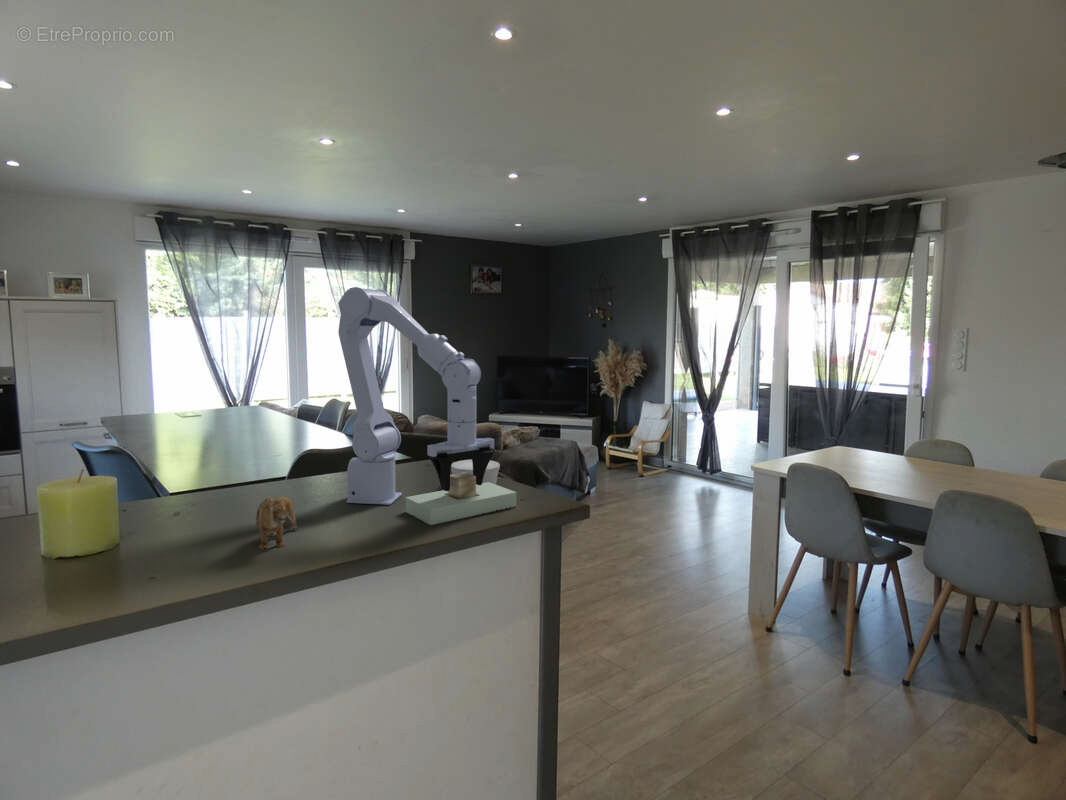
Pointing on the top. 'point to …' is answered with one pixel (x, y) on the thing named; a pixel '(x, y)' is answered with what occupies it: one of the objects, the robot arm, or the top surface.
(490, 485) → the socket block
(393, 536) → the top surface
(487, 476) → the ramekin
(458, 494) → the peg
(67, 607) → the top surface
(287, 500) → the orange animal figure
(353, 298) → the robot arm
